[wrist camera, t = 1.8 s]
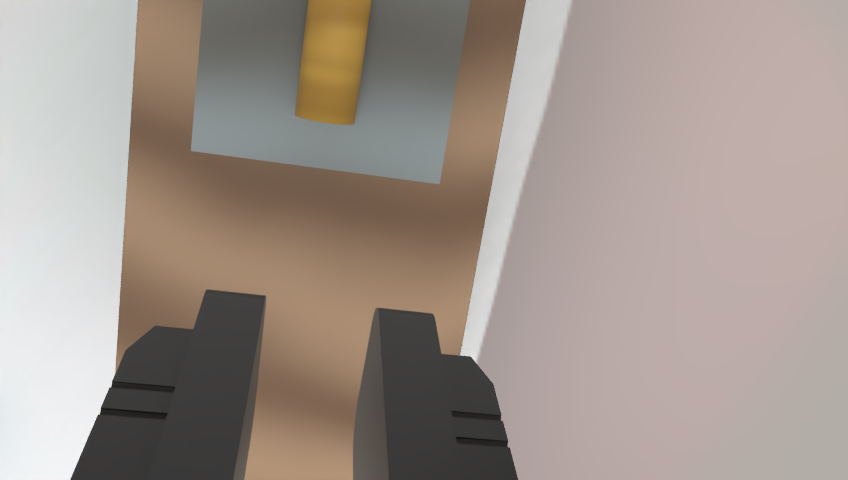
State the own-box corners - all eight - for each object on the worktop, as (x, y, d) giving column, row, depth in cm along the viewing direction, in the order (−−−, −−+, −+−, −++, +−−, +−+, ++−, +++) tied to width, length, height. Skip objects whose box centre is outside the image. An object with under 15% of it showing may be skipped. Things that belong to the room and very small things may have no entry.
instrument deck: (168, -261, 24) (100, -381, 16) (545, -180, 26) (630, -256, 18) (122, 447, 30) (58, 583, 23) (427, 470, 32) (456, 602, 25)
